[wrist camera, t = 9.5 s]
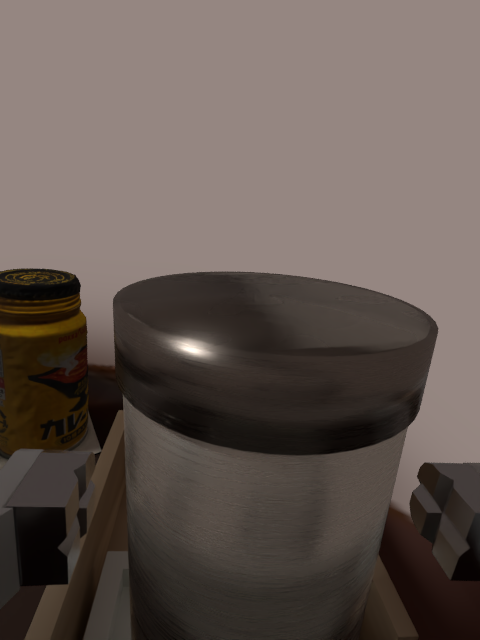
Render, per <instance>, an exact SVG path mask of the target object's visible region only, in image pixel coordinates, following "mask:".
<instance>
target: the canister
mask: <svg viewBox="0 0 480 640" xmlns="http://www.w3.org/2000/svg"><path fill="white" fill-rule="evenodd" d="M113 317H114V342H115V369H116V379H117V383H118V387H119V388H120V390H121V392H122V394H123V409H124V440H125V471H126V501H127V532H128V562H129V593H130V623H131V640H358V639H359V635H360V631H361V626H362V622H363V618H364V613H365V609H366V605H367V600H368V596H369V592H370V588H371V583H372V579H373V575H374V570H375V566H376V562H377V557H378V553H379V549H380V544H381V540H382V536H383V531H384V527H385V523H386V518H387V514H388V510H389V506H390V501H391V497H392V493H393V488H394V484H395V480H396V475H397V471H398V466H399V462H400V458H401V454H402V449H403V445H404V441H405V437H406V432H407V428H408V426H409V425H410V424H411V423H412V422H413V421H414V419H415V418H416V416H417V414H418V412H419V410H420V405H421V401H422V397H423V393H424V388H425V385H426V380H427V376H428V372H429V367H430V364H431V359H432V355H433V351H434V347H435V342H436V338H437V334H438V327H437V325H436V322H435V321H434V320H433V319H432V318H431V317H430V316H429V315H428V314H426V313H425V312H424V311H422V310H421V309H419V308H417V307H415V306H413V305H411V304H409V303H407V302H404V301H402V300H399V299H397V298H394V297H391V296H389V295H385V294H382V293H379V292H376V291H372V290H368V289H365V288H361V287H356V286H352V285H347V284H343V283H338V282H332V281H327V280H321V279H313V278H307V277H300V276H291V275H282V274H269V273H254V272H197V273H184V274H174V275H167V276H160V277H155V278H150V279H146V280H143V281H139V282H136V283H134V284H131V285H129V286H127V287H125V288H123V289H122V290H120V291H119V292H118V293H117V294H116V295H115V297H114V299H113Z"/></svg>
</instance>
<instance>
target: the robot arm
mask: <svg viewBox="0 0 480 640" xmlns="http://www.w3.org/2000/svg"><path fill="white" fill-rule="evenodd" d="M94 470H95V455H94V453H93V452H84V451H65V450H42V449H19V450H17V451H15V452H14V453H13V455H12V456H11V457H10V458H9V460H8V461H7V462H6V464H5V465H4V466H3V468H2V469H1V470H0V609H1V608H2V607H3V606H4V605H5V604H6V603H7V602H8V601H9V600H10V599H11V598H12V597H13V596H14V595H15V594H16V593H17V592H18V591H19V590H20V586H41V585H66V584H69V581H70V579H71V576H72V573H73V570H74V568H75V565H76V562H77V559H78V557H79V554H80V538H81V537H83V536H84V535H85V534H86V533H87V531H88V528H89V525H90V522H91V519H92V514H93V509H94V503H95V484H94V483H93V482H92V481H91V477H92V475H93V472H94ZM417 477H418V479H419V482H420V485H419V486H418V487H417V488H416V489H415V490H414V491H413V492H412V496H411V500H410V512H411V517H412V520H413V522H414V525H415V527H416V528H417V530H418V532H419V533H420V535H422V536H423V537H424V538H426V539H427V540H428V541H430V542H431V543H432V553H433V555H434V556H435V558H436V559H437V561H438V562H439V564H440V565H441V567H442V568H443V570H444V571H445V573H446V575H447V576H448V578H449V579H450V581H480V463H463V464H459V463H458V464H457V463H424V464H423V465H422V466H421V467H420V469H419V472H418V475H417Z"/></svg>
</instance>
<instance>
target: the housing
mask: <svg viewBox="0 0 480 640" xmlns="http://www.w3.org/2000/svg"><path fill="white" fill-rule="evenodd" d="M91 481H92V482H93V483H94V484H95V503H94V509H93V514H92V519H91V522H90V525H89V528H88V531H87V533H86V534H85V535H84V536H83V537H81V538H80V554H79V557H78V559H77V562H76V565H75V568H74V570H73V573H72V576H71V579H70V581H69V584H66V585H47V586H46V589H45V591H44V594H43V596H42V598H41V601H40V603H39V606H38V608H37V611H36V613H35V615H34V618H33V620H32V623H31V625H30V628H29V630H28V633H27V635H26V637H25V640H83V639H84V635H85V631H86V628H87V624H88V621H89V617H90V613H91V610H92V606H93V602H94V599H95V595H96V592H97V588H98V584H99V581H100V577H101V573H102V570H103V566H104V563H105V559H106V555H107V552H108V551H128V532H127V501H126V471H125V440H124V410H118V413H117V415H116V418H115V420H114V423H113V425H112V428H111V430H110V432H109V435H108V437H107V440H106V442H105V445H104V447H103V450H102V452H101V454H100V457H99V459H98V462H97V464H96V467H95V470H94V472H93V475H92V477H91ZM418 638H419V635H418V633H417V631H416V629H415V627H414V625H413V623H412V621H411V619H410V617H409V615H408V613H407V611H406V609H405V607H404V605H403V603H402V601H401V599H400V597H399V595H398V593H397V591H396V589H395V587H394V585H393V583H392V581H391V579H390V577H389V575H388V573H387V571H386V569H385V567H384V565H383V563H382V561H381V559H380V557H379V554H378V557H377V562H376V566H375V570H374V575H373V579H372V583H371V588H370V592H369V596H368V600H367V605H366V609H365V613H364V618H363V622H362V626H361V631H360V635H359V639H358V640H418Z"/></svg>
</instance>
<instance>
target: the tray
mask: <svg viewBox="0 0 480 640" xmlns="http://www.w3.org/2000/svg"><path fill="white" fill-rule="evenodd" d="M83 640H131V623H130V593H129V562H128V551H108V552H107V555H106V559H105V563H104V566H103V570H102V573H101V577H100V581H99V584H98V588H97V592H96V595H95V599H94V602H93V606H92V610H91V613H90V617H89V621H88V624H87V628H86V631H85V635H84V639H83Z"/></svg>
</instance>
